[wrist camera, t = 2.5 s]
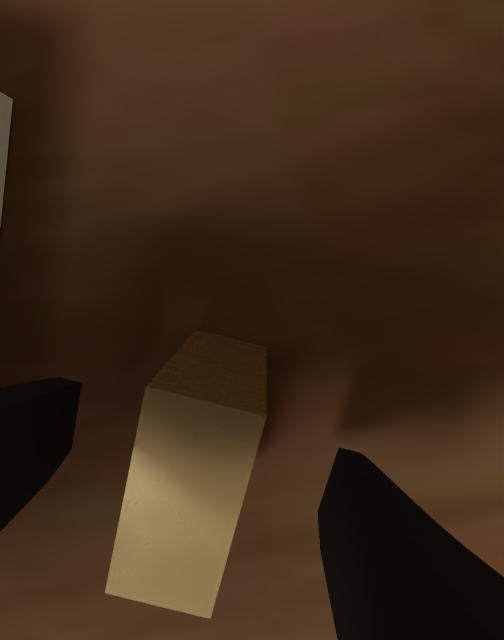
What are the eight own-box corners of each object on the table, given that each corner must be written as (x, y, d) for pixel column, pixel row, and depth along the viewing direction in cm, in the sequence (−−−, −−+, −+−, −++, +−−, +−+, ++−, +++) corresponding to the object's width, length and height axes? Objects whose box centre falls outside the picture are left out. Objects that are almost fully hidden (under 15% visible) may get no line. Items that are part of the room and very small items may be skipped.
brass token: (232, 476, 13) (210, 618, 8) (167, 460, 13) (104, 593, 8) (266, 346, 12) (266, 416, 7) (196, 329, 12) (145, 386, 7)
